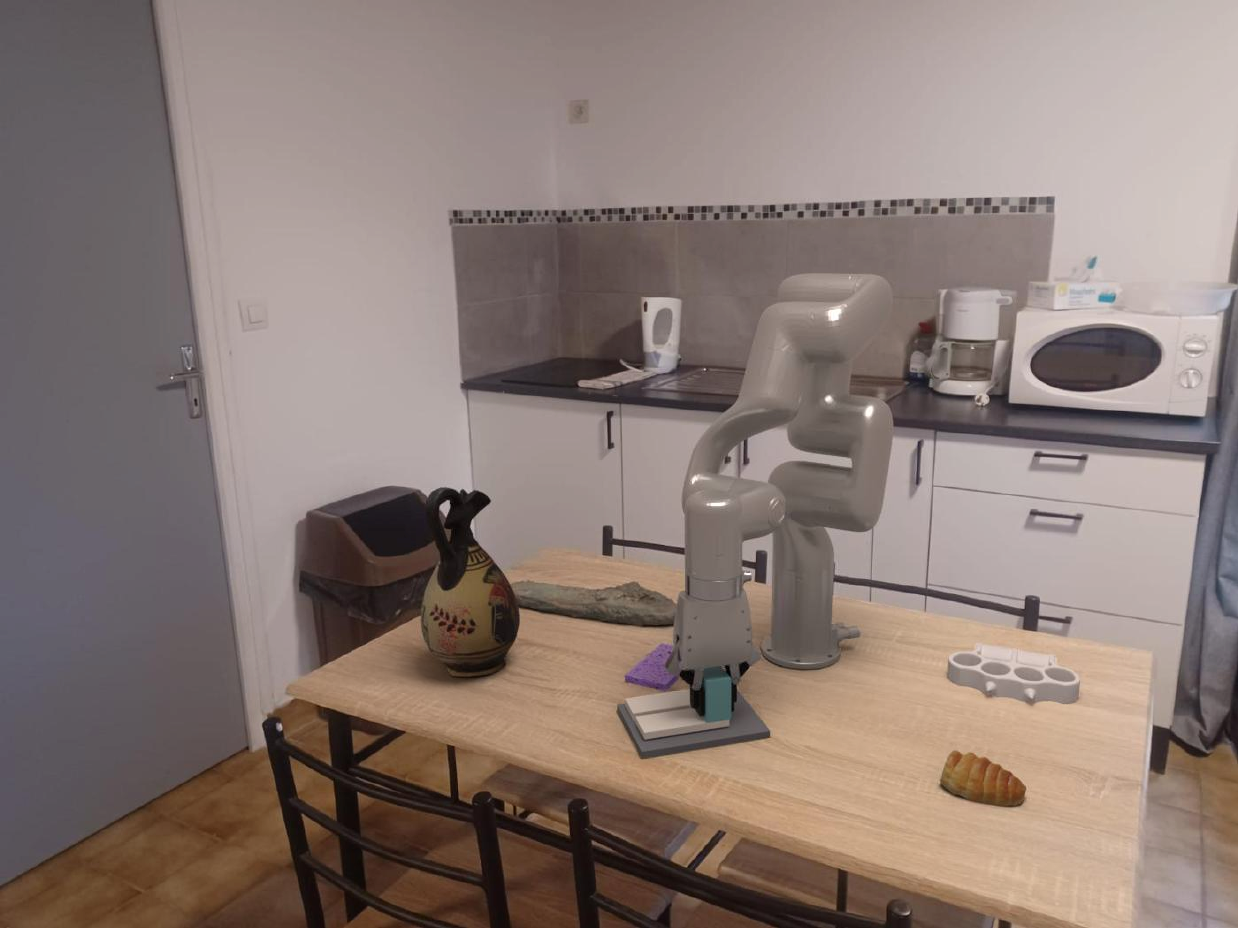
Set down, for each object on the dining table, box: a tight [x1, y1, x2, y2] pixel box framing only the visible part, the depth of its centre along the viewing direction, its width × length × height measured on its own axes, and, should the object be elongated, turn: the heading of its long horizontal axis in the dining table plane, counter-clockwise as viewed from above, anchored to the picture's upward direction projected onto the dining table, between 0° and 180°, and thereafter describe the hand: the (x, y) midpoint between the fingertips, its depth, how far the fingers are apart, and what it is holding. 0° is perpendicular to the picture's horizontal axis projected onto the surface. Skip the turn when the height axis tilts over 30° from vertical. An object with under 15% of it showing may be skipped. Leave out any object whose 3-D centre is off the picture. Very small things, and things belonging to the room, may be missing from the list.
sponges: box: [624, 642, 688, 692], centre depth 146 cm, size 7×13×2 cm, turn 151°
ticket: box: [624, 688, 692, 721], centre depth 132 cm, size 12×5×1 cm, turn 104°
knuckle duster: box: [946, 642, 1081, 705], centre depth 140 cm, size 3×18×15 cm
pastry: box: [939, 750, 1027, 807], centre depth 113 cm, size 9×7×4 cm
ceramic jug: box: [420, 486, 521, 678], centre depth 145 cm, size 17×15×30 cm
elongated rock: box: [510, 580, 677, 627], centre depth 170 cm, size 35×5×10 cm
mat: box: [616, 689, 771, 760], centre depth 130 cm, size 18×13×1 cm
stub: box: [635, 666, 731, 740], centre depth 127 cm, size 12×4×7 cm, turn 104°
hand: (713, 708), depth 128 cm, fingers closed on stub, 3 cm apart
